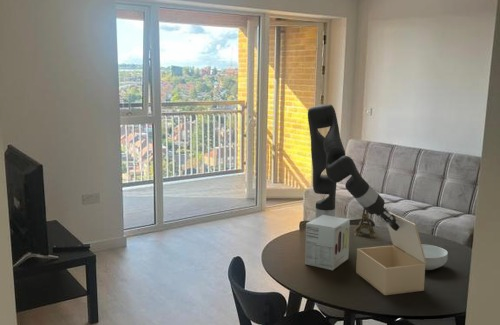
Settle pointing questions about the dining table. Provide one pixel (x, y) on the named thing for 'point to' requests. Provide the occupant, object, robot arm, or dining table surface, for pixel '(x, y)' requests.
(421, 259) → the mailer lid
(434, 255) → the cereal bowl
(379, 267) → the mailer box
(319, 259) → the supplement box
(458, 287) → the dining table surface
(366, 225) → the eiffel tower
